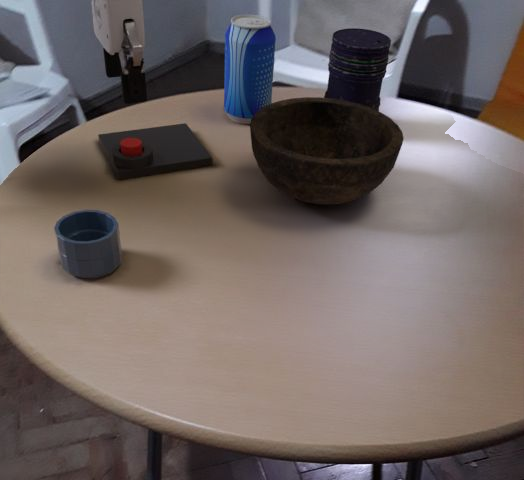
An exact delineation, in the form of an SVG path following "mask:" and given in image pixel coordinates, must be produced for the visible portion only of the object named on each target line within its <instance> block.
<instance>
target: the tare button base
mask: <svg viewBox="0 0 524 480" xmlns="http://www.w3.org/2000/svg"><path fill="white" fill-rule="evenodd" d="M97 138H98V143H99V145H100V147H101V149H102V150H103V153H104V154H105V156H106V158H107V160H108V162H109V164H110V166H111V167H112V169H113V171H114V172H115V175H116V177H117V178H118V180H119V181H120V180H127V179H132V178H140V177H146V176H153V175H159V174H167V173H172V172H178V171H186V170H191V169H197V168H198V169H199V168H203V167H211V166H213V156H212V155H211V154H210V152H209V151H208V150H207V148H206V147H205V145H203V143H202V142H201V141H200V139H199V137H197V136H196V135H195V133H194V131H192V129H191V128H190V127H189V125H188V124H187V123H177V124H170V125H162V126H160V125H159V126H152V127H145V128H138V129H131V130H123V131H115V132H107V133H99V134H97ZM126 138H137V139H139V140H141V142H142V153H141V154H139V155H134V156H127V155H124V154H122V153H121V146H120V142H121V141H122V140H123V139H126Z"/></svg>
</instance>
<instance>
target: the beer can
mask: <svg viewBox="0 0 524 480" xmlns="http://www.w3.org/2000/svg"><path fill="white" fill-rule="evenodd" d="M276 38H277V37H276V33H275V32H274V29H273V27H272V21H271V20H270V19H269V18H267V17H265V16H262V15H257V14H237V15H235V16H233V17H231V19H230V24H229V26H228V28H227V29H226V31H225V34H224V89H223V91H224V93H223V110H224V112H225V113H226V114H227V117H228V118H229V120H231V121H232V122H235V123H237V124H241V125H250V122H251V119H252V117H253V116H254V114H255V113H256V112H257V111H259V110H260V109H261V108H263V107H265V106H267V105H269V104H271V103H272V99H273V97H272V96H273V86H274V85H273V83H274V71H275V70H274V69H275V54H276V40H277V39H276Z"/></svg>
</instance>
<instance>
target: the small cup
mask: <svg viewBox="0 0 524 480" xmlns="http://www.w3.org/2000/svg"><path fill="white" fill-rule="evenodd" d="M53 229H54V230H53V231H54V235H55V240H56V247H57V251H58V255H59V256H58V257H59V261H60V263H61V266H62V269H63V270H64V271H66V272H67V273H68V274H70V275H72V276H74V277H77V278H80V279H86V280H87V279H88V280H89V279H98V278H103V277H105V276H108V275H110V274H111V273H112V272H114V271H115V270H116V269H117V268H118V267H119V266H120V265H121V263H122V259H123V252H122V251H123V250H122V245H121V235H120V227H119V223H118V220H117V218H116V217H115V216H113V215H112V214H111V213H110V212H107V211H103V210H98V209H82V210H76V211H72V212H70V213H68V214H65V215H62V216H61V217H60V218H59V219H58V220H57V221H56V223H55V225H54V227H53Z"/></svg>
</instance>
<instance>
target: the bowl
mask: <svg viewBox="0 0 524 480" xmlns="http://www.w3.org/2000/svg"><path fill="white" fill-rule="evenodd" d="M249 132H250V141H251V142H250V143H251V151H252V154H253V157H254V159H255V162H256V164H257V166H258V168H259V170H260V171H261V173H262V174H263V175H264V177H265V178H266V180H267V181H268V183H269V184H271V185H272V186H273V187H274V188H276V189H277V190H279V191H280V192H282V193H283V194H285V195H287V196H289V197H290V198H293V199H295V200H298V201H301V202H304V203H310V204H315V205H340V204H345V203H350V202H352V201H355V200H359V199H360V198H363V197H365V196H367V195H368V194H370V193H371V192H373V191H374V190H375V189H377V188H378V187H379V186H380V185H381V184H382V183H383V182H384V181H385V180H386V179H387V177H388V176H389V174H390V173H391V172H392V170H393V169H394V167H395V165H396V162H397V160H398V157H399V155H400V151H401V150H402V147H403V142H404V133H403V131H402V129H401V128H400V126H399V124H398V123H396V122H395V120H393V119H392V118H391V117H389V116H387V115H386V114H385V113H383V112H381V111H380V110H379V111H377V110H375V109H372V108H370V107H367V106H364V105H361V104H358V103H354V102H350V101H345V100H339V99H332V98H324V97H319V96H318V97H315V96H312V97H311V96H310V97H309V96H306V97H293V98H287V99H281V100H278V101H275V102H271V104H269V105H267V106H265V107H263V108H261V109H260V110H259V111H257V112H256V113H255V114H254V116H253V117H252V119H251V122H250V124H249Z"/></svg>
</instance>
